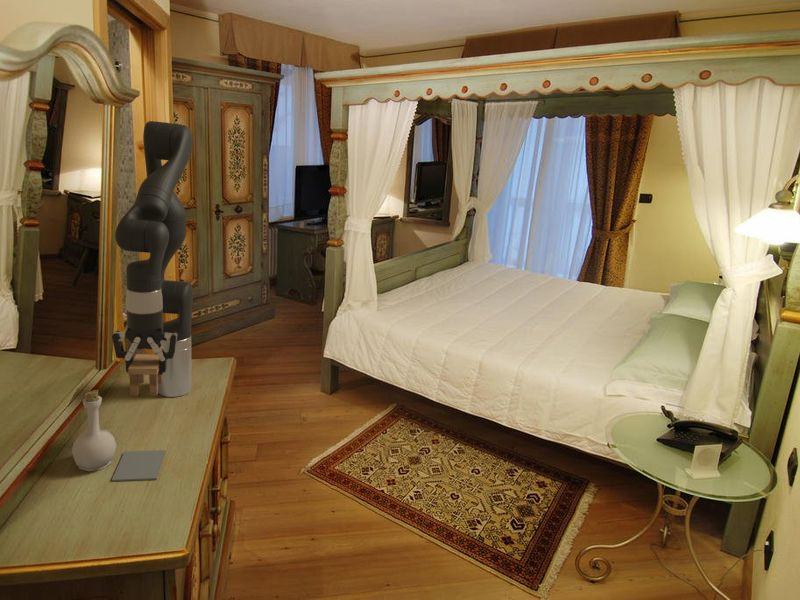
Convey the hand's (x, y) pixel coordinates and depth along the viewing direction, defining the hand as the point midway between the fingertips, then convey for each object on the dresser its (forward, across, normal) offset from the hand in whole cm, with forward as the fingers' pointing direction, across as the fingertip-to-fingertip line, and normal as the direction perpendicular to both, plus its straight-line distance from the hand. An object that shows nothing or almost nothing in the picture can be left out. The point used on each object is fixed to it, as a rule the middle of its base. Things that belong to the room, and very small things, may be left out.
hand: (146, 373), depth 128 cm
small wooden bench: (+4, 0, 0) cm, 4 cm away
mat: (+18, 0, +12) cm, 21 cm away
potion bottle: (+18, +9, +10) cm, 22 cm away
